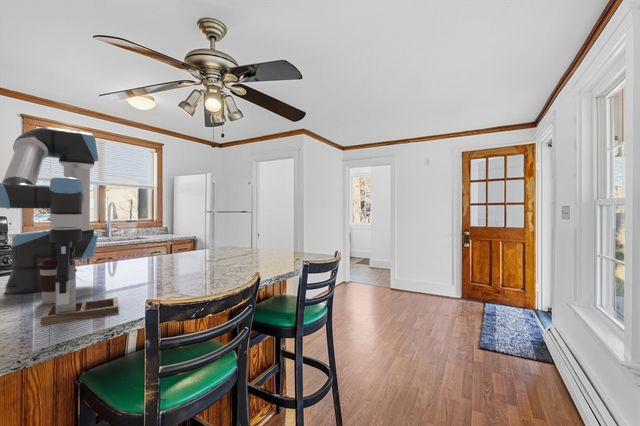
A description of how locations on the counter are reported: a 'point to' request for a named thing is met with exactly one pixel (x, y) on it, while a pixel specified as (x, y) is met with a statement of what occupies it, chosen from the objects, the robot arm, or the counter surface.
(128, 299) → the counter surface
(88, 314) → the walnut divider frame
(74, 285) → the container
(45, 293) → the coffee cup
